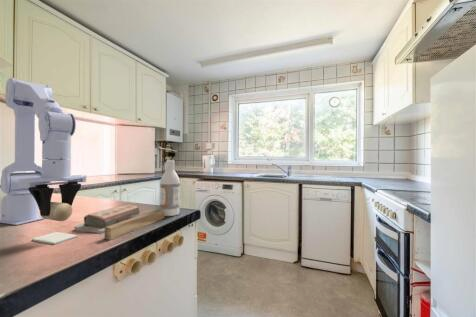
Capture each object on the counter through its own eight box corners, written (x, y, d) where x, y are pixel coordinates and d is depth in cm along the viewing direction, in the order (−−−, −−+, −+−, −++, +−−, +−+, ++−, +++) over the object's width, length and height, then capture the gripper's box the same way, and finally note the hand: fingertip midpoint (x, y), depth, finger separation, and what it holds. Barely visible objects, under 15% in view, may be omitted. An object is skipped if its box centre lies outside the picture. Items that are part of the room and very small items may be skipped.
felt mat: (32, 240, 56) (32, 238, 56) (56, 233, 61) (56, 231, 61) (54, 244, 54) (54, 242, 54) (78, 236, 59) (78, 235, 59)
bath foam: (156, 214, 84) (157, 160, 84) (173, 211, 89) (174, 160, 89) (165, 217, 79) (166, 160, 79) (182, 214, 84) (183, 160, 84)
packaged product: (121, 203, 82) (145, 204, 79) (120, 216, 82) (144, 218, 79) (73, 214, 64) (102, 217, 62) (73, 231, 64) (102, 235, 62)
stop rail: (104, 238, 58) (104, 227, 58) (159, 217, 79) (159, 209, 79) (110, 239, 57) (110, 228, 57) (164, 218, 78) (164, 209, 78)
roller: (47, 222, 58) (35, 210, 55) (62, 210, 61) (52, 198, 59) (61, 225, 56) (50, 212, 54) (75, 211, 60) (65, 199, 57)
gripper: (34, 159, 49) (33, 222, 49) (94, 159, 63) (94, 208, 63) (13, 159, 51) (12, 219, 51) (76, 159, 65) (75, 206, 65)
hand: (56, 213), depth 57 cm, fingers closed on roller, 4 cm apart
